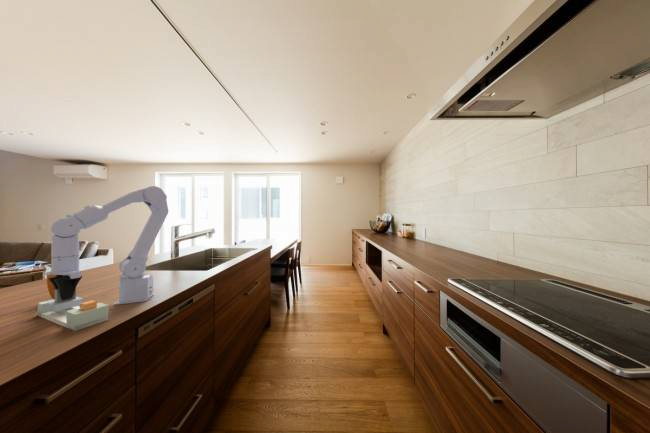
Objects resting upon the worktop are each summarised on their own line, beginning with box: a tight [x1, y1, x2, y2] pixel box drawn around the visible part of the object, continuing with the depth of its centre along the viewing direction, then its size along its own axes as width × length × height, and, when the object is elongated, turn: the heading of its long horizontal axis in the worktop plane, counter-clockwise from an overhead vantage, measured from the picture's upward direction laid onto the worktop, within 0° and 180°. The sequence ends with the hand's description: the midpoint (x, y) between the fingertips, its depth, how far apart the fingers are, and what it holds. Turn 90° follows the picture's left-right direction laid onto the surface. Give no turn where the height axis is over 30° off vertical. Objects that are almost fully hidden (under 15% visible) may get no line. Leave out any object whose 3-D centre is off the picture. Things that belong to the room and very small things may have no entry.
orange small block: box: [79, 299, 98, 311], centre depth 63 cm, size 3×3×4 cm
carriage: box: [46, 288, 84, 312], centre depth 69 cm, size 6×6×6 cm
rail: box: [37, 298, 110, 332], centre depth 67 cm, size 25×7×4 cm, turn 68°
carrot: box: [46, 263, 57, 300], centre depth 81 cm, size 5×5×15 cm
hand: (65, 298), depth 69 cm, fingers closed on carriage, 2 cm apart
